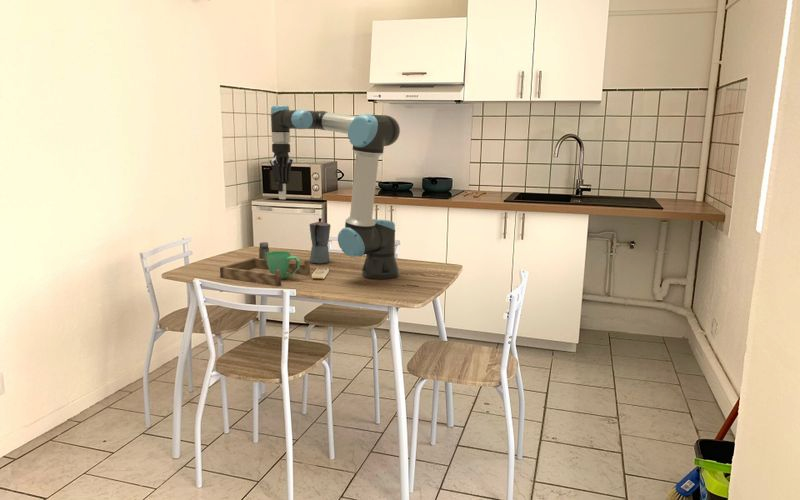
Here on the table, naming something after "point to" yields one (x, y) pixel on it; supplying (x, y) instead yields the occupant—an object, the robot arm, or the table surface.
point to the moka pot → (319, 242)
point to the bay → (242, 268)
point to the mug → (281, 262)
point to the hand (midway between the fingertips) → (282, 198)
